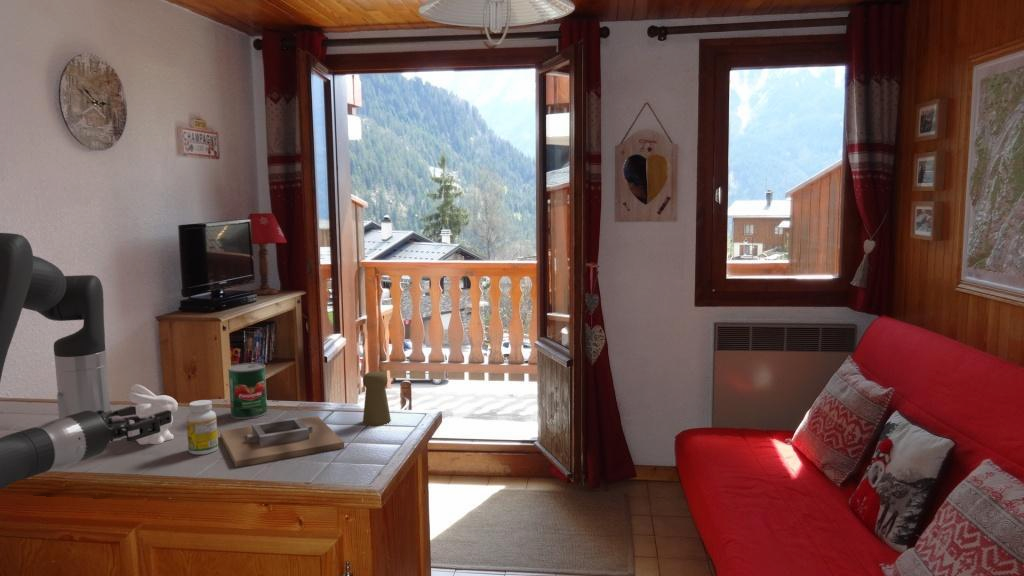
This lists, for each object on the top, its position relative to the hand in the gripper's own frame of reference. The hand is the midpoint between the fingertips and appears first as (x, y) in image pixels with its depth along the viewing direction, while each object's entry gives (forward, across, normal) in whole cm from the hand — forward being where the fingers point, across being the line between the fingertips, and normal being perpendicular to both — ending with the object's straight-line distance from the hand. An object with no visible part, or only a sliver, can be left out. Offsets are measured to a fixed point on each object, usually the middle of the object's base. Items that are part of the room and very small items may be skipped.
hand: (152, 413), depth 129 cm
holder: (+20, -11, +10) cm, 25 cm away
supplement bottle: (+12, 0, +11) cm, 16 cm away
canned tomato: (+34, +9, +10) cm, 37 cm away
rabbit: (+13, +15, +10) cm, 22 cm away
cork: (+39, -22, +10) cm, 46 cm away
